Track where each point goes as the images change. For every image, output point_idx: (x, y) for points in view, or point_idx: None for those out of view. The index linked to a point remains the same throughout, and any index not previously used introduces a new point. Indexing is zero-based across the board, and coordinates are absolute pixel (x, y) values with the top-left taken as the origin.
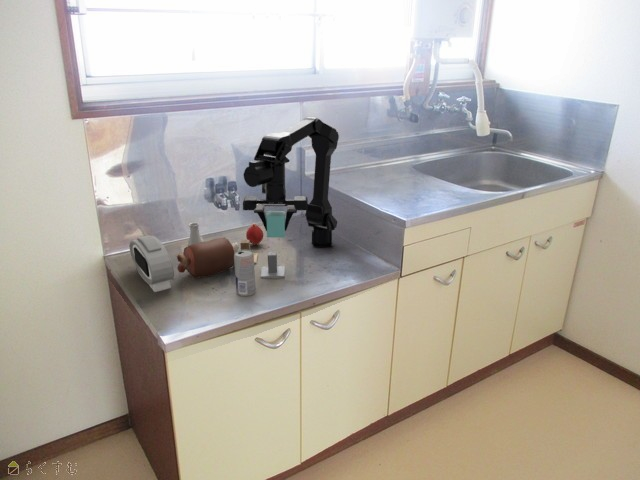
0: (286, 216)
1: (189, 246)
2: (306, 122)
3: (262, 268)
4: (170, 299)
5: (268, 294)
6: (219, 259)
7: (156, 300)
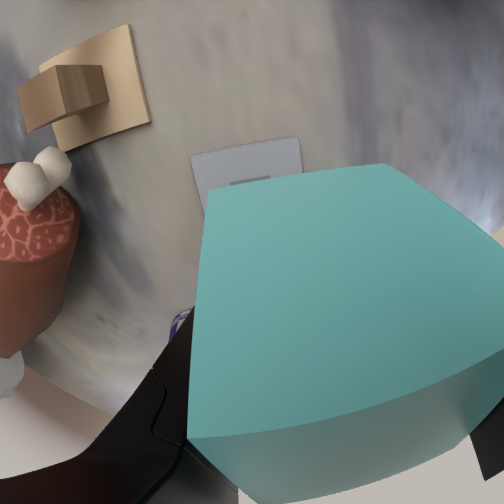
0: (471, 432)
1: None
2: None
3: (198, 178)
4: (57, 358)
5: None
6: (52, 310)
7: (40, 359)
